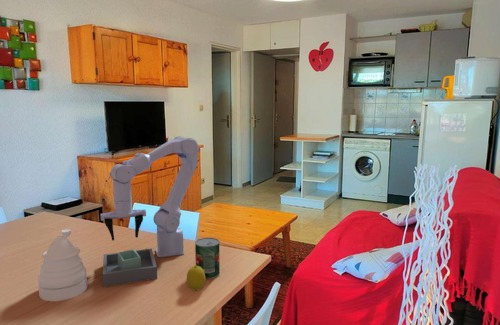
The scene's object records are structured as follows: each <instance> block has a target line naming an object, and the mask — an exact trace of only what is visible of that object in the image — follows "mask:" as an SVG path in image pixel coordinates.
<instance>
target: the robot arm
mask: <svg viewBox="0 0 500 325" xmlns="http://www.w3.org/2000/svg"><path fill="white" fill-rule="evenodd" d="M199 152H200V146H199V144H198V142H197V140H196V139H195V138H193V137H184V136H175V137H174V138H171V139H169V140H167V141H166V142H164V143H163V144H161V145H159V146H158V147H156V148H154V149H153V150H151V151H149V152H148V153H143V152H141V153H140V152H137V153H135V154H134V156H133V157H131V158H130V159H128V160H123V161H122V163H117V164H114V165H113V166H112V168H111V169H110V172H109V177H110V178H111V179H112V183H113V184H112V189H113V207H114V211H110V212H104V213H100V221H101V222H102V221H104V224H105V226H106V228H107V230H108V231H109V234H110V237H111V241H115V234H114V224H113V223H114V222H113V220H116V219H126V218H134V226H135V227H134V235H135V238H136V239H137V238H138V237H139V232H140V229H141V225H142V223H143V221H144V217H147V211H146V209H133V198H132V182H131V181H132V180H133V178H134V177H135V176H136V175H139V174H141V173H143V172H144V171H146V170H148V169H150V168H151V166H152V163H153V162H155V161H158V160H159V159H161V158H163V157H165V156H168V155H169V154H176V155H177V156H178V157H179V160H180V163H181V166H180V168H179V169H178V173H177V175H176V177H175V180H174V182H173V185H172V187H171V188H170V191H169V193H168V196H167V198H166V201H165V202H164V203H163V204H161V205H160V206H159V209H158V210H157V211H156V212H155V213H154V215H153V223H154V225H156V244H157V246H156V247H157V248H155V252H156V253H155V254H156V255H157V256H156V258H167V257H173V256H181V255H184V254H185V253H184V251H185V250H184V233H183V229H182V228H181V227H180V223H181V216H182V211H181V209H180V208H181V205H182V203H183V200H184V198H185V196H186V193H187V190H188V188H189V185H190V183H191V182H192V181H191V180H192V178H193V176H194V174H195V170H197V167H198V161H199V159H198V158H199V157H198V156H199V155H198V154H199Z"/></svg>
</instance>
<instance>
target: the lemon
mask: <svg viewBox="0 0 500 325" xmlns="http://www.w3.org/2000/svg"><path fill="white" fill-rule="evenodd" d="M205 283H206V279H205V273H204V270H203V269H202V268H201V267H199V266H197V265H196V264H195V265H193V266H192V267H190V268H189V269H188V271H187V274H186V284H187V286H188V288H189V289H190V290H192V291H194V292H198V291H199V290H201V289H202V288H203V286H204V285H205Z"/></svg>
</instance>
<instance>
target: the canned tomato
mask: <svg viewBox="0 0 500 325" xmlns="http://www.w3.org/2000/svg"><path fill="white" fill-rule="evenodd" d="M194 244H195V245H194V246H195V247H194V248H195V249H194V250H195V257H194V258H195V265H197V266H199V267H201V268H202V269H203V270H204V273H205V280H211V279H214V278H217V277H219V276H220V273H221V272H220V267H221V266H220V240H219V239H218V238H214V237H202V238H198V239H197V240H195V243H194Z"/></svg>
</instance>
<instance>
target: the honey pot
mask: <svg viewBox="0 0 500 325" xmlns="http://www.w3.org/2000/svg"><path fill="white" fill-rule="evenodd" d="M61 234H62V236H61V235H60V236H57V237H55V238H54V239H53V240H52V242H51V243H50V245H49V246H48V248H47V250H46V251H45V252H44V253H42V256H41V257H42V259H43V261H42V264H41V265H40V268H41V269H40V271H39V275H38V278H37V282H38V295H39V298H40V299H41V300H43V301H45V302H47V301H48V302H61V301H66V300H71V299H74V298H76V297H77V296H80V295H81V294H82V293H85V291H86V290H87V288H88V278H87V268H86V267H85V265H84V263H83V259H82V258H81V257H80V255H79V254H80V253H81V249H80V248H79V247H78V246H76V245H74V244H73V243H72V242H71V241H70V240H69V239H68V237H70V235H71V234H72V229H70V228H69V229H68V228H66V229H63V230H61Z"/></svg>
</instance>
